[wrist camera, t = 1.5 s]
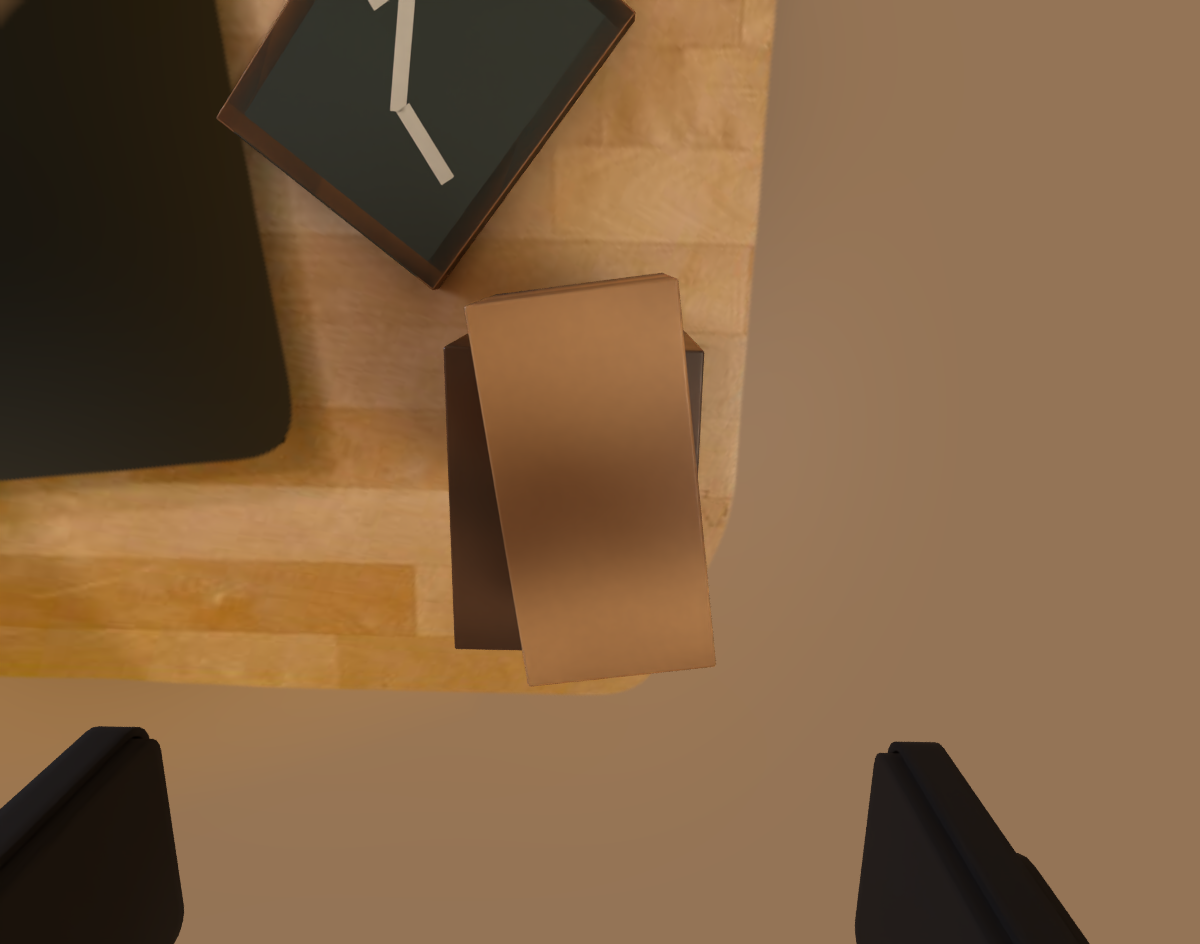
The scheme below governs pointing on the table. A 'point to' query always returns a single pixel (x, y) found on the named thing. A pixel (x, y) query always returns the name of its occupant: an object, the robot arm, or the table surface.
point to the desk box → (494, 505)
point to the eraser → (595, 476)
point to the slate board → (418, 108)
